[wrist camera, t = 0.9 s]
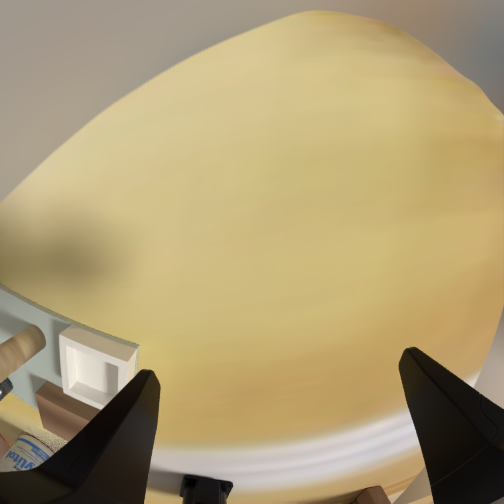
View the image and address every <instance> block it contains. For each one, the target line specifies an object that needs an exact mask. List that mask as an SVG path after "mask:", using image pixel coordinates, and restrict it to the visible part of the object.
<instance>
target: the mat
mask: <svg viewBox="0 0 504 504" xmlns="http://www.w3.org/2000/svg"><path fill="white" fill-rule="evenodd" d="M30 325H36V326H38V327H39V328H40V329H41V330H42V332H43V334H44V336H45V339H46V346H45V348H44V349H42V350H41V351H40V352H38V353H37V354H36V355H35V356H33V357H32V358H31V359H30V360H28V361H27V362H26V363H25V364H23V365H22V366H21V367H20V368H18V369H17V370H16V371H15V372H13V373H12V374H11V375H10V376H9V377H8V378H9V379H10V381H11V382H12V385H13V390H11V391H10V392H11V393H12V394H14V395H15V396H17V397H18V398H20V399H21V400H23V401H24V402H26V403H27V404H29V405H30V406H32V407H34V408H35V409H37V410H39V409H38V405H37V400H36V396H35V392H36V391H37V390H38V389H39V388H40V387H41V386H42V385H43V384H44V383H45V382H46V381H47V380H48V381H50V382H52V383H54V384H55V385H57V386H59V387H61V388H63V384H62V375H61V364H60V347H59V334H60V333H61V332H63V331H64V330H65V329H67V328H68V327H70V326H71V325H74V326H77V327H79V328H81V329H84V330H86V331H89V332H91V333H94V334H96V335H99V336H102V337H104V338H107V339H110V340H112V341H115V342H118V343H121V344H124V345H127V346H129V347H132V348H135V349H137V351H136V361H135V372H134V376H135V375H136V372H137V361H138V352H139V345H137V344H134V343H131V342H128V341H125V340H122V339H119V338H117V337H114V336H111V335H108V334H106V333H103V332H100V331H98V330H95V329H92V328H90V327H87V326H85V325H82V324H80V323H78V322H75V321H73V320H71V319H68V318H66V317H64V316H61V315H59V314H57V313H55V312H53V311H50V310H48V309H46V308H44V307H42V306H40V305H38V304H36V303H34V302H32V301H30V300H28V299H26V298H24V297H22V296H20V295H18V294H17V293H15V292H13V291H11V290H9V289H7V288H6V287H4V286H2V285H0V344H1V343H3V342H5V341H6V340H8V339H9V338H11V337H13V336H14V335H16V334H17V333H19V332H21V331H22V330H24V329H26V328H27V327H29V326H30Z"/></svg>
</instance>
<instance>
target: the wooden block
mask: <svg viewBox="0 0 504 504" xmlns="http://www.w3.org/2000/svg"><path fill="white" fill-rule="evenodd" d="M351 504H391V502H390V501H389V499H388V497H387V495H386V494H385V492H384V490H383V488H382V487H381V486H376V487H371V488H366V489H365V490H364V491H363V492H362V493H361V494H360V495H359V496H358V497H357V501H355V502H353V503H351Z"/></svg>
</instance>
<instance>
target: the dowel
mask: <svg viewBox="0 0 504 504" xmlns="http://www.w3.org/2000/svg"><path fill="white" fill-rule="evenodd" d="M45 346H46V339H45V336H44V334H43V332H42V330H41V329H40V328H39V327H38V326H36V325H30V326H29V327H27V328H26V329H24V330H22V331H21V332H19V333H17V334H16V335H14V336H13V337H11V338H9V339H8V340H6V341H5V342H3V343H1V344H0V383H1V382H3V381H4V380H5V379H6V378H7V377H9V376H10V375H11V374H12V373H13V372H15V371H16V370H17V369H18V368H20V367H21V366H22V365H23V364H25V363H26V362H27V361H28V360H30V359H31V358H32V357H33V356H35V355H36V354H37V353H38V352H40V351H41V350H42V349H44V348H45Z"/></svg>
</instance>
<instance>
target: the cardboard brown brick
mask: <svg viewBox="0 0 504 504" xmlns="http://www.w3.org/2000/svg"><path fill="white" fill-rule="evenodd" d="M35 396H36V400H37V405H38V409H39V413H40V417H41V420H42V424H43V427H44V428H45V429H47V430H48V431H50V432H52V433H54V434H56V435H57V436H59V437H61V438H63V439H65V440H67V441H70V440H71V439H72V438H73V437H74V436H75V435H76V434H77V433H78V432H79V431H80V430H82V429H83V427H85V426H86V425H87V424H88V423H89V422H90V421H91V420H92V419H93V418H94V417H95V416H96V415H97V414H98V413H99V412H100V411H101V410H100V409H98V408H96V407H93V406H91V405H89V404H86V403H84V402H82V401H80V400H78V399H75V398H73V397H71V396H69V395H67V394H65V393H64V392H63V388H61V387H59V386H57V385H55V384H54V383H52V382H50V381H48V380H47V381H46V382H45V383H44V384H43V385H42V386H41V387H40V388H39V389H38V390H37V391H36V392H35Z"/></svg>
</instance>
